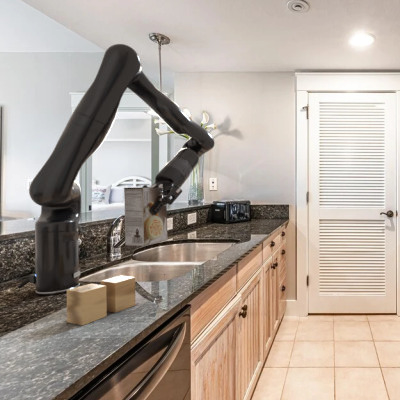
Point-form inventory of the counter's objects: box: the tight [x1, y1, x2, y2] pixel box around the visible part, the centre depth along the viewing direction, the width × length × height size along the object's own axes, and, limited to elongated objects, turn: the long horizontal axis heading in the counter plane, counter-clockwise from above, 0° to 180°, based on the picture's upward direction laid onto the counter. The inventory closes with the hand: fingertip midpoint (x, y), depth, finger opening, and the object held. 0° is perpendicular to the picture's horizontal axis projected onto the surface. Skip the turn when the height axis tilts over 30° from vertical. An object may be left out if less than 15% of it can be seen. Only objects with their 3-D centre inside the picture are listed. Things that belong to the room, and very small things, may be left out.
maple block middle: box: [99, 275, 136, 314], centre depth 70 cm, size 5×5×7 cm
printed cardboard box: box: [123, 187, 168, 247], centre depth 84 cm, size 9×6×16 cm
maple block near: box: [66, 283, 108, 326], centre depth 64 cm, size 5×5×7 cm
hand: (142, 212), depth 82 cm, fingers closed on printed cardboard box, 7 cm apart
